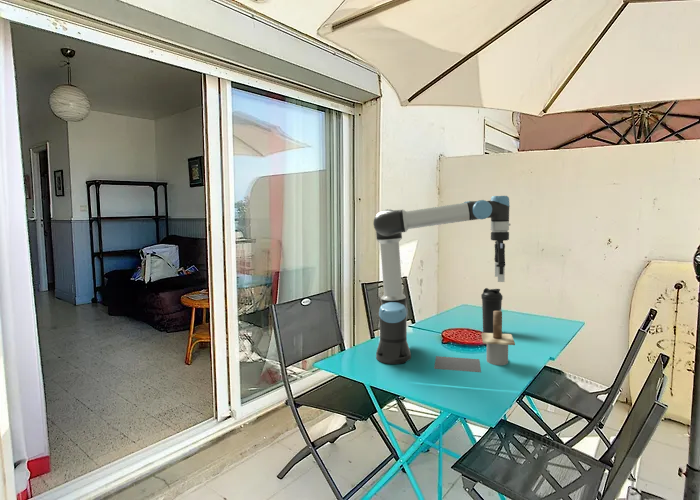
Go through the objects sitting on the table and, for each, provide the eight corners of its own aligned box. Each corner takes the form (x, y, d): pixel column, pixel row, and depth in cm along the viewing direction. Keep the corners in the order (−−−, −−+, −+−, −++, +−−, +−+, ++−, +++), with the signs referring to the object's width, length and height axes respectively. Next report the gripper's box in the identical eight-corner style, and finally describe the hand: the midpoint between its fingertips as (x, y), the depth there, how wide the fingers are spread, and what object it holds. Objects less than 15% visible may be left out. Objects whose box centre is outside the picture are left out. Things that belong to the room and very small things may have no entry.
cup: (509, 367, 161) (509, 343, 160) (488, 366, 162) (488, 342, 161) (505, 359, 169) (505, 336, 168) (485, 358, 170) (485, 335, 170)
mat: (434, 370, 160) (434, 368, 160) (435, 357, 173) (435, 356, 173) (481, 373, 155) (481, 372, 155) (479, 360, 168) (479, 359, 168)
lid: (483, 343, 160) (483, 314, 159) (481, 334, 172) (481, 307, 171) (514, 345, 157) (515, 316, 156) (511, 335, 169) (511, 308, 168)
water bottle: (499, 336, 199) (500, 291, 196) (479, 334, 204) (479, 289, 202) (503, 331, 207) (504, 288, 205) (483, 328, 213) (484, 286, 210)
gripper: (512, 232, 161) (512, 284, 163) (505, 229, 185) (505, 274, 187) (493, 233, 163) (492, 283, 165) (488, 229, 187) (488, 274, 189)
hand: (499, 279), depth 176 cm, fingers open, 13 cm apart
